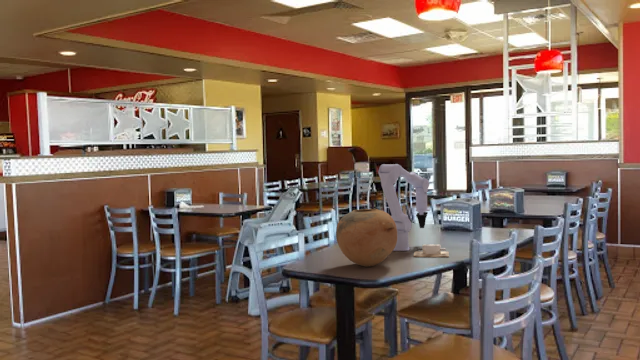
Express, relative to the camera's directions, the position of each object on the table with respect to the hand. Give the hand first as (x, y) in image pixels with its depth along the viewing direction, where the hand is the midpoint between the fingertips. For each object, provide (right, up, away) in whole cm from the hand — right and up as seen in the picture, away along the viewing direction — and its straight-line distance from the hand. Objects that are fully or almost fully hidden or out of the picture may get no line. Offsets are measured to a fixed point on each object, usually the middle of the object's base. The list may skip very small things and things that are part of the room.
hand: (422, 227), depth 292 cm
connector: (-1, -10, -28) cm, 29 cm away
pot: (-32, -13, -46) cm, 58 cm away
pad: (-1, -11, -28) cm, 30 cm away
